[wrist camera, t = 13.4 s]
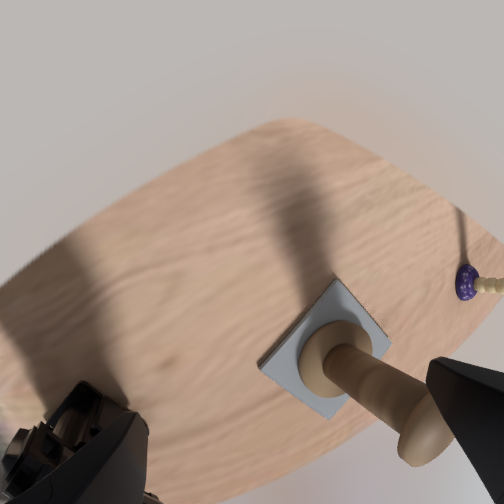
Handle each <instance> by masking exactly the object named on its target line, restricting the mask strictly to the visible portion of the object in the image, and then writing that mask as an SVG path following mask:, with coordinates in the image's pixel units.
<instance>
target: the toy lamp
mask: <svg viewBox="0 0 504 504" xmlns="http://www.w3.org/2000/svg"><path fill="white" fill-rule="evenodd" d="M477 291H478V292H485V291H486V292H488V293H496V292H497V293H499V294H504V278H501V279H496V278H488V279H487V278H484V277H479V274H478V272H477V270H476V269H475V268H474V267H472V266H470V265H467V264H466V265H463V266H462V267H461V269H460V270H459V272H458V275H457V279H456V292H457V295H458V298H459V299H460V300H463V301H466V300H469V299H472V298H473V297H474V296H475V295H476V293H477Z"/></svg>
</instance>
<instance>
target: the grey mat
mask: <svg viewBox="0 0 504 504" xmlns="http://www.w3.org/2000/svg"><path fill="white" fill-rule="evenodd" d="M336 320H345V321H349V322H352V323H354V324H357V325H359V326H361V327H362V328H363V329H365V330H366V332H367V333H368V334H369V336H370V338H371V342H372V347H373V353H372V356H373V357H375V358H377V359H379V360H380V359H381V358H382V356H383V355H384V354H385V352H386V351H387V350H388V348H389V347H390V346H391V344H392V342H391V341H390V340H389V339H388V337H387V336H386V335H385V334H384V333H383V331H382V330H381V329H380V328H379V327H378V325H377V324H376V323H375V322H374V321H373V319H372V318H371V317H370V316H369V315H368V313H367V312H366V311H365V310H364V309H363V308H362V306H361V305H360V304H359V303H358V302H357V300H356V299H355V298H354V297H353V296H352V295H351V293H350V292H349V291H348V290H347V289H346V288H345V287H344V285H343V284H342V283H341V282H340V281H339V280H338V279H335V280H334V281H333V282H332V283H331V285H330V286H329V287H328V288H327V290H326V291H325V292H324V293H323V294H322V296H321V297H320V298H319V299H318V301H317V302H316V303H315V304H314V305H313V307H312V308H311V309H310V310H309V311H308V312H307V314H306V315H305V316H304V317H303V318H302V320H301V321H300V322H299V323H298V324H297V325H296V326H295V328H294V329H293V330H292V331H291V332H290V333H289V335H288V336H287V337H286V338H285V339H284V340H283V341H282V342H281V344H280V345H279V346H278V347H277V348H276V349H275V350H274V351H273V352H272V354H271V355H270V356H269V357H268V358H267V359H266V360H265V361H264V362H263V363H262V364H261V365H260V367H259V370H260V371H261V372H263V373H264V374H265V375H267V376H268V377H269V378H271V379H272V380H273V381H275V382H276V383H277V384H279V385H280V386H281V387H283V388H284V389H285V390H287V391H288V392H289V393H291V394H292V395H293V396H295V397H296V398H298V399H299V400H300V401H302V402H303V403H305V404H306V405H307V406H309V407H310V408H312V409H313V410H315V411H316V412H317V413H319V414H320V415H322V416H323V417H325V418H326V419H328V420H330V419H331V418H332V417H333V416H334V415H335V413H336V412H337V411H338V410H339V409H340V408H341V407H342V406H343V405H344V403H345V402H346V401H347V400H348V399H349V398H350V396H349V395H348V394H347V393H345V394H343V395H341V396H338V397H333V398H324V397H320V396H317V395H315V394H314V393H312V392H311V391H310V390H309V389H308V388H307V387H306V386H305V385H304V384H303V382H302V381H301V378H300V376H299V372H298V360H299V356H300V352H301V350H302V348H303V346H304V344H305V342H306V341H307V339H308V338H309V337H310V336H311V334H312V333H314V332H315V331H316V330H317V329H318V328H320V327H321V326H323V325H324V324H327V323H329V322H332V321H336Z"/></svg>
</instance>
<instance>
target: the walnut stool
mask: <svg viewBox="0 0 504 504" xmlns="http://www.w3.org/2000/svg"><path fill="white" fill-rule="evenodd" d="M372 353H373V347H372V342H371V338H370V336H369V334H368V333H367V332H366V330H365V329H363V328H362V327H361V326H359V325H357V324H354V323H352V322H349V321H345V320H336V321H332V322H329V323H327V324H324V325H323V326H321V327H320V328H318V329H317V330H316V331H315V332H314V333H312V334H311V336H310V337H309V338H308V339H307V341H306V342H305V344H304V346H303V348H302V350H301V352H300V356H299V360H298V372H299V376H300V378H301V381H302V382H303V384H304V385H305V386H306V387H307V388H308V389H309V390H310V391H311V392H312V393H314V394H315V395H317V396H320V397H324V398H333V397H338V396H341V395H343V394H345V393H347V394H348V395H349V396H350V397H352V398H353V399H354V400H356V401H357V402H358V403H359V404H361V405H362V406H363V407H365V408H366V409H367V410H368V411H370V412H371V413H372V414H374V415H375V416H376V417H378V418H379V419H380V420H382V421H383V422H384V423H386V424H387V425H388V426H390V427H391V428H392V429H394V430H395V431H396V432H398V433H399V434H400V438H399V441H398V447H397V448H398V449H397V451H398V455H399V457H400V458H401V459H403V460H404V461H405V462H406V463H408V464H409V465H410V466H412V467H419V466H422V465H425V464H427V463H429V462H430V461H432V460H433V459H435V458H436V457H437V456H438V455H440V454H441V453H442V452H443V451H444V450H445V449H446V448H447V447H448V446H449V444H450V443H451V442H452V441H453V439H454V438H455V436H454V435H453V433H452V432H451V430H450V429H449V427H448V426H447V424H446V422H445V421H444V419H443V417H442V415H441V413H440V411H439V409H438V408H437V406H436V404H435V402H434V400H433V398H432V396H431V394H430V392H429V390H428V388H427V386H426V384H425V383H423V382H421V381H419V380H417V379H415V378H413V377H411V376H409V375H407V374H406V373H404V372H402V371H400V370H398V369H396V368H394V367H392V366H390V365H388V364H386V363H384V362H383V361H381V360H379V359H377V358H375V357H373V356H372Z"/></svg>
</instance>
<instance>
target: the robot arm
mask: <svg viewBox="0 0 504 504" xmlns="http://www.w3.org/2000/svg"><path fill="white" fill-rule="evenodd" d="M81 386H84V387H85V388H86V390H83V389H82V388H81ZM426 386H427V388H428V390H429V392H430V394H431V396H432V398H433V400H434V402H435V404H436V406H437V408H438V409H439V411H440V413H441V415H442V417H443V419H444V421H445V422H446V424H447V426H448V427H449V429H450V430H451V432H452V433H453V435H454V436H455V438H456V439H457V441H458V443H459V444H460V446H461V447H462V449H463V451H464V452H465V454H466V455H467V457H468V459H469V460H470V462H471V464H472V465H473V467H474V468H475V470H476V472H477V473H478V475H479V477H480V479H481V480H482V482H483V483H484V485H485V487H486V489H487V491H488V492H489V494H490V496H491V498H492V499H493V501H494V503H496V504H504V373H503V372H499V371H495V370H491V369H487V368H483V367H479V366H475V365H471V364H468V363H464V362H460V361H456V360H453V359H449V358H446V357H438V358H435V359H432V360H431V361H430V363H429V367H428V372H427V376H426ZM50 426H52V427H53V428H51V427H50ZM148 436H149V428H148V427H147V426H145V425H144V423H143V421H142V418H141V416H140V414H139V413H138V412H135V411H126V410H124V409H123V408H122V407H120V406H119V405H117V404H116V403H115V402H113V401H112V400H111V399H109V398H108V397H106V396H103V395H102V394H101V393H99V392H98V391H97V390H96V389H94V388H93V387H92V386H91V385H90V384H88V383H87V382H85V381H80V382H78V384H77V385H76V386H75V387H74V389H73V390H72V391H71V392H70V393H69V395H68V396H67V397H66V398H65V400H64V401H63V402H62V403H61V405H60V406H59V407H58V408H57V410H56V411H55V412H54V413H53V415H52V416H51V417H50V419H49V420H48V421H47V423H46V424H44V423H43V422H42V421H41V422H40V423H39V424H38V426H37V427H36V426H35V425H34V426H33V428H32V429H30V430H27V429H22V428H20V429H19V430H18V432H17V433H16V435H15V436H14V438H13V439H12V441H11V443H10V444H9V446H8V448H7V450H6V452H5V454H4V456H3V459H2V461H1V463H2V466H3V469H4V472H5V473H4V475H3V483H2V493H3V494H4V495H6V496H7V497H8V498H9V500H8V502H7V503H5V504H163V503H162V502H161V501H159V499H158V497H157V496H156V495H154V494H152V493H147V492H145V491H144V489H145V483H146V471H147V447H148Z"/></svg>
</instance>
